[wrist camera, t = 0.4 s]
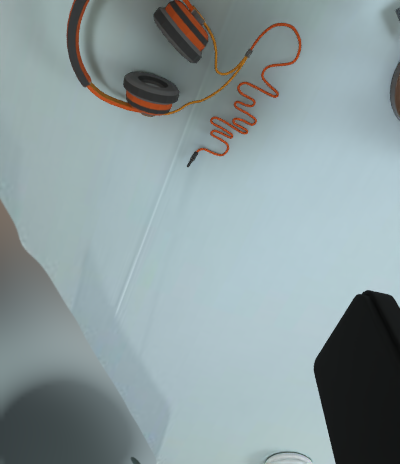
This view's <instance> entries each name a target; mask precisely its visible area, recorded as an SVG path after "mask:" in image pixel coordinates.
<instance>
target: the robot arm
mask: <svg viewBox="0 0 400 464" xmlns="http://www.w3.org/2000/svg"><path fill="white" fill-rule="evenodd" d="M314 374H315V378H316V382H317V387H318V391H319V395H320V399H321V404H322V408H323V412H324V416H325V420H326V425H327V429H328V433H329V437H330V442H331V446H332V450H333V454H334V458H335V463H336V464H400V308H399V306H398V304H397V303H396V301H395V299H394V298H393V297H392V296H391V295H388V294H384V293H379V292H374V291H370V290H367V291H365V292H363V293H362V294H358V295H356V296H355V298H354V299H353V301H352V302H351V304H350V305H349V307H348V309H347V310H346V312H345V313H344V315H343V316H342V318H341V320H340V321H339V323H338V324H337V326H336V328H335V329H334V331H333V332H332V334H331V336H330V337H329V339H328V340H327V342H326V343H325V345H324V347H323V348H322V350H321V351H320V353H319V355H318V356H317V358H316V360H315V363H314Z"/></svg>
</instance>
